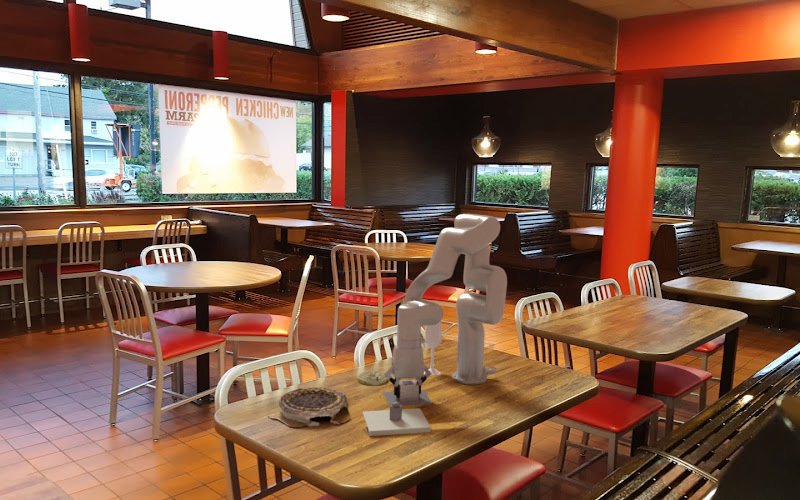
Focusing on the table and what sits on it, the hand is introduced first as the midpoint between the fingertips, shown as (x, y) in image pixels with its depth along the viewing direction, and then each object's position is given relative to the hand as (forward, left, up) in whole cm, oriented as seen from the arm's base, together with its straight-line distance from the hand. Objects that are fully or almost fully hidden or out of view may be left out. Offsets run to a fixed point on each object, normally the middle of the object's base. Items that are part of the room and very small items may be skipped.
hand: (407, 395), depth 199 cm
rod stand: (0, 0, -2) cm, 2 cm away
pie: (+30, +2, -3) cm, 30 cm away
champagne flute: (-15, -26, -2) cm, 30 cm away
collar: (0, 0, -1) cm, 1 cm away
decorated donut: (+9, -18, -3) cm, 20 cm away
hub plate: (+7, +16, -2) cm, 18 cm away
